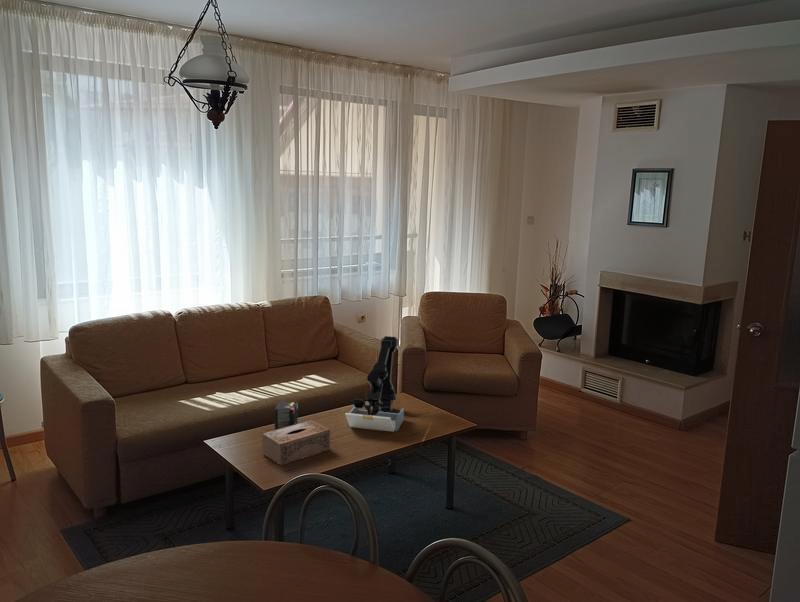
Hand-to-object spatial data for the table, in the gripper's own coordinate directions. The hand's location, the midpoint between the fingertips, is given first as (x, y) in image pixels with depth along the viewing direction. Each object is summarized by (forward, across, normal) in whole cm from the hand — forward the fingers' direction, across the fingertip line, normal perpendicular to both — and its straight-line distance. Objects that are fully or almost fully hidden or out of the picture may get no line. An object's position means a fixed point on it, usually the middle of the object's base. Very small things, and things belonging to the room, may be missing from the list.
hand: (369, 421), depth 301 cm
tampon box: (+12, -38, -5) cm, 40 cm away
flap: (+1, 0, +7) cm, 7 cm away
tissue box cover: (+24, -26, -18) cm, 39 cm away
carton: (-3, 0, +13) cm, 13 cm away
